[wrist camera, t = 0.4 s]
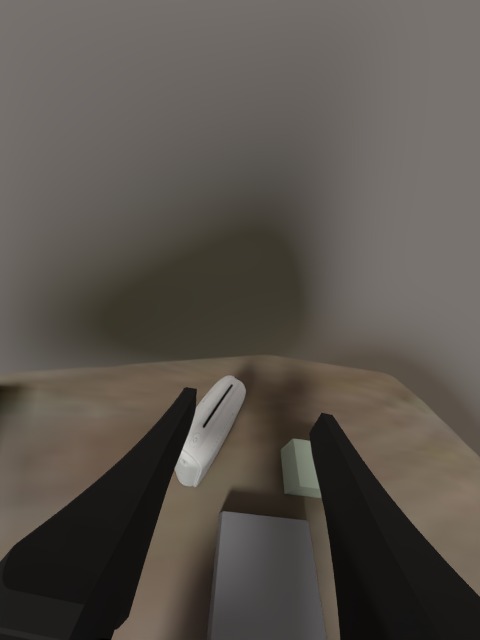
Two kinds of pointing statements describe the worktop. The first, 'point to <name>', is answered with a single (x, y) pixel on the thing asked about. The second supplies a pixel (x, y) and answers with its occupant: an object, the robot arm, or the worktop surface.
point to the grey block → (264, 581)
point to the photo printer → (209, 429)
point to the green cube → (299, 469)
